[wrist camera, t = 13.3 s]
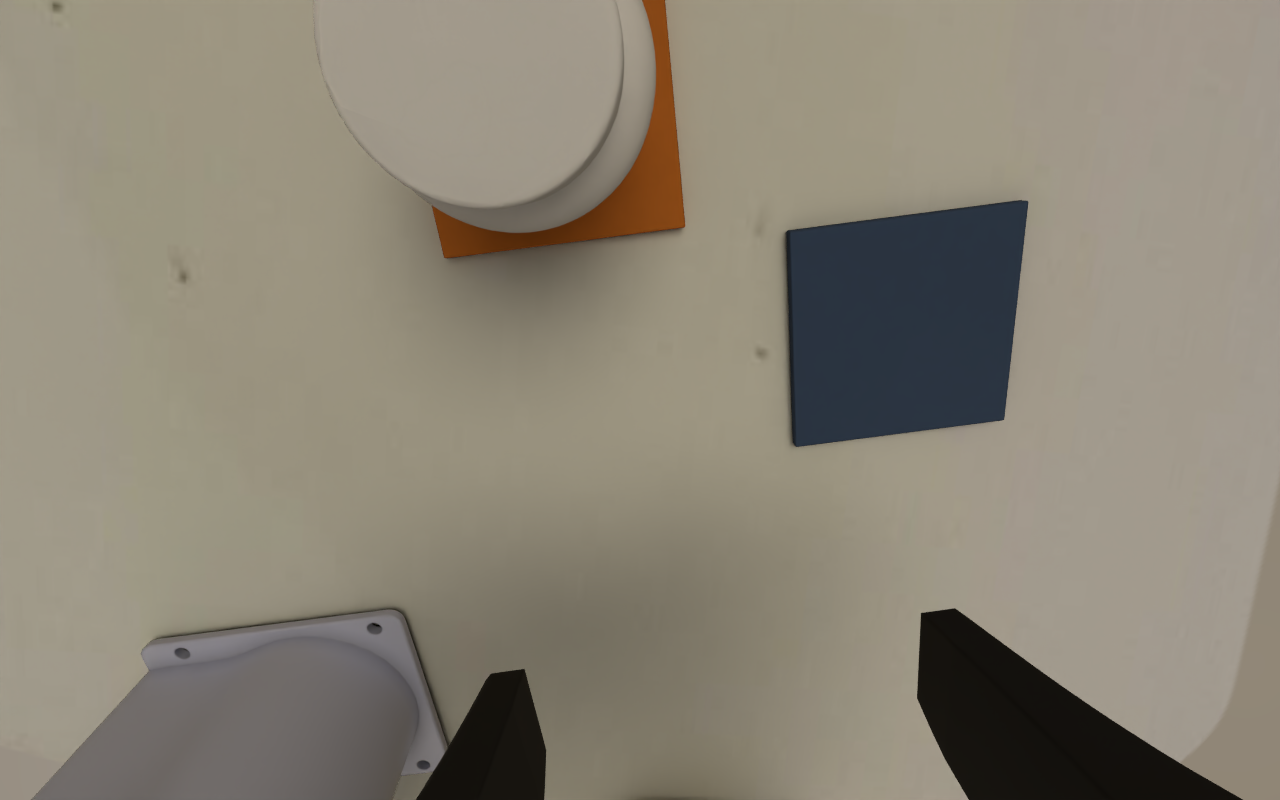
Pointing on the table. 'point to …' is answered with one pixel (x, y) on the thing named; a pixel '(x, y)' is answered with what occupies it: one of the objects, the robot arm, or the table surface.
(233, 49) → the table surface
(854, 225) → the blue mat
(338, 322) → the table surface
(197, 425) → the table surface
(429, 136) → the pill bottle
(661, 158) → the amber mat
